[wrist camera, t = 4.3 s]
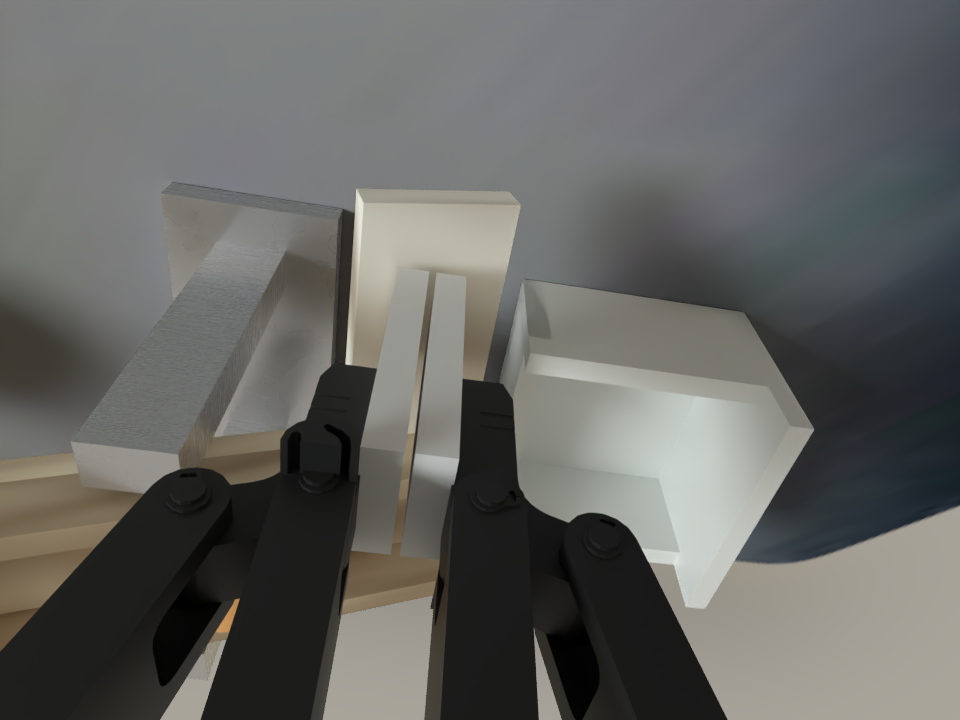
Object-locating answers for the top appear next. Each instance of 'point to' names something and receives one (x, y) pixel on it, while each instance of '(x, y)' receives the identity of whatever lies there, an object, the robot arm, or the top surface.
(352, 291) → the lever
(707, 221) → the top surface
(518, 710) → the robot arm
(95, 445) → the stand
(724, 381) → the tray
